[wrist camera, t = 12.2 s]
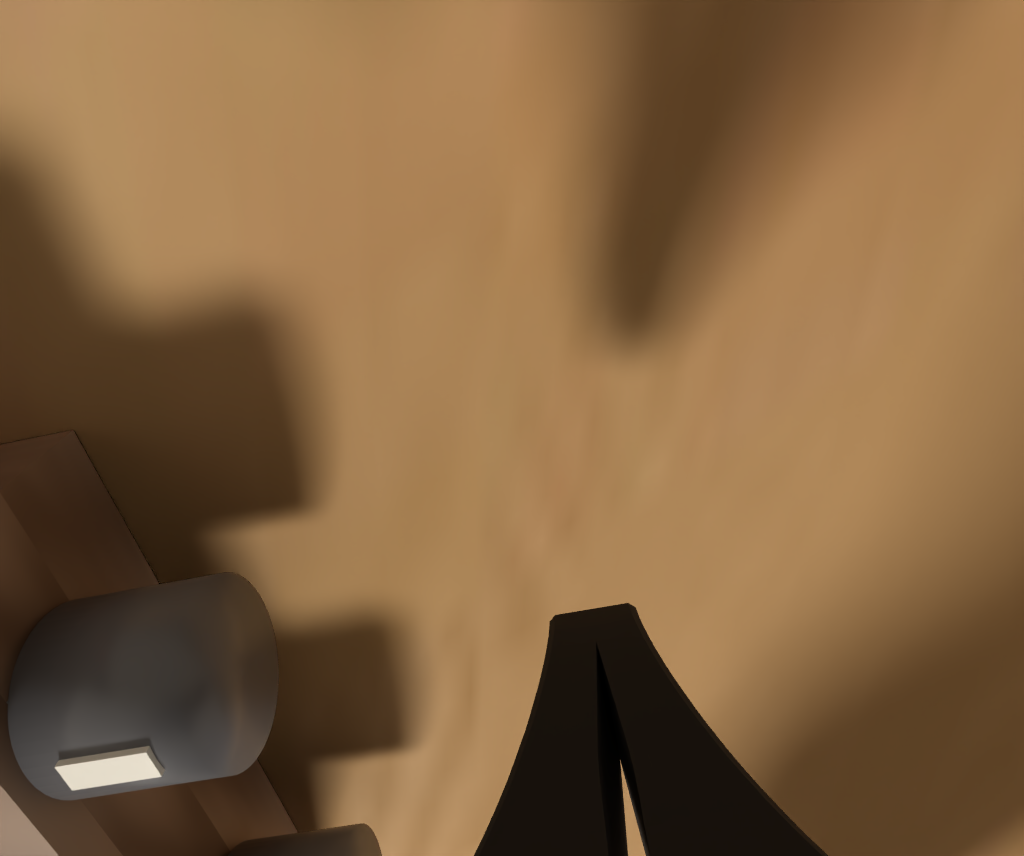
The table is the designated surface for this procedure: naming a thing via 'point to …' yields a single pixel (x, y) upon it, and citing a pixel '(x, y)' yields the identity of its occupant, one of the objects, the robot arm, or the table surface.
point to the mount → (22, 605)
